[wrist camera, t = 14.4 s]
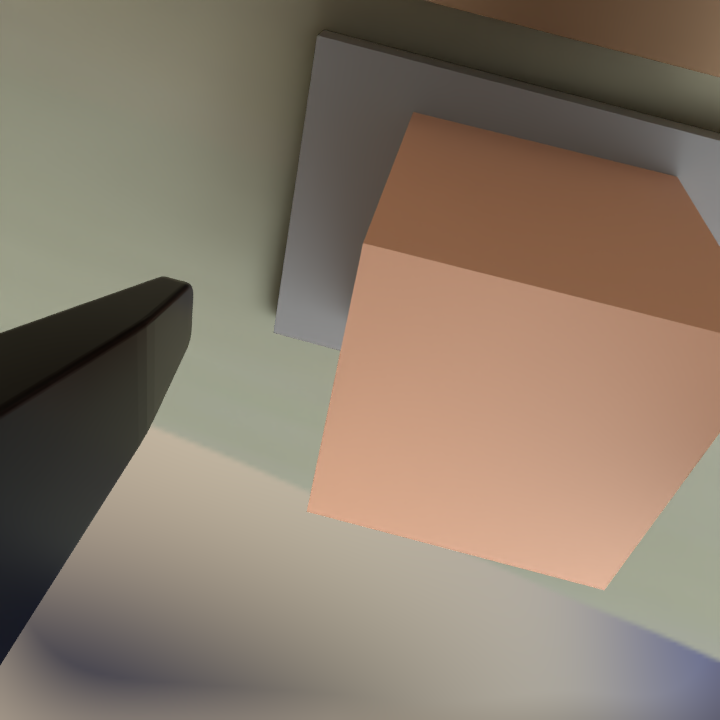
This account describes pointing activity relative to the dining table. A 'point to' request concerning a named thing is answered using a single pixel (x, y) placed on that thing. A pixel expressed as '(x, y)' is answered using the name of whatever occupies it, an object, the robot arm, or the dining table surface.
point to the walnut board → (620, 25)
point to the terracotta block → (523, 354)
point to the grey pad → (385, 134)
